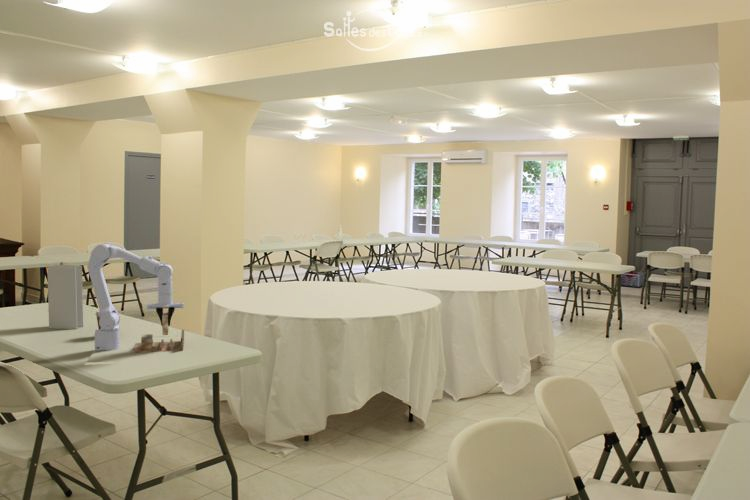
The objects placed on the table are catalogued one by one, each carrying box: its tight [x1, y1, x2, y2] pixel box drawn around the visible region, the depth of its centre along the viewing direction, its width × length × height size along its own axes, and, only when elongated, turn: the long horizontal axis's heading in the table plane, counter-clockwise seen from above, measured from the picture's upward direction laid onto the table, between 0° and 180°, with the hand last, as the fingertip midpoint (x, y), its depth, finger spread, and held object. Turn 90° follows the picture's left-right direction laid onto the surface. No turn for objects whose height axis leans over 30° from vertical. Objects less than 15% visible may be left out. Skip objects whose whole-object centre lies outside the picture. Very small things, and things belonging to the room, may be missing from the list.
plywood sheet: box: [161, 310, 170, 336], centre depth 263 cm, size 2×10×8 cm, turn 15°
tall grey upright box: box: [46, 264, 84, 330], centre depth 304 cm, size 14×6×30 cm, turn 84°
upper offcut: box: [140, 333, 154, 343], centre depth 261 cm, size 4×5×2 cm
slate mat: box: [153, 334, 179, 338], centre depth 280 cm, size 12×13×1 cm
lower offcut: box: [140, 339, 154, 350], centre depth 262 cm, size 4×7×2 cm, turn 15°
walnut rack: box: [130, 329, 185, 354], centre depth 263 cm, size 20×18×6 cm
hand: (165, 325), depth 263 cm, fingers closed on plywood sheet, 2 cm apart
